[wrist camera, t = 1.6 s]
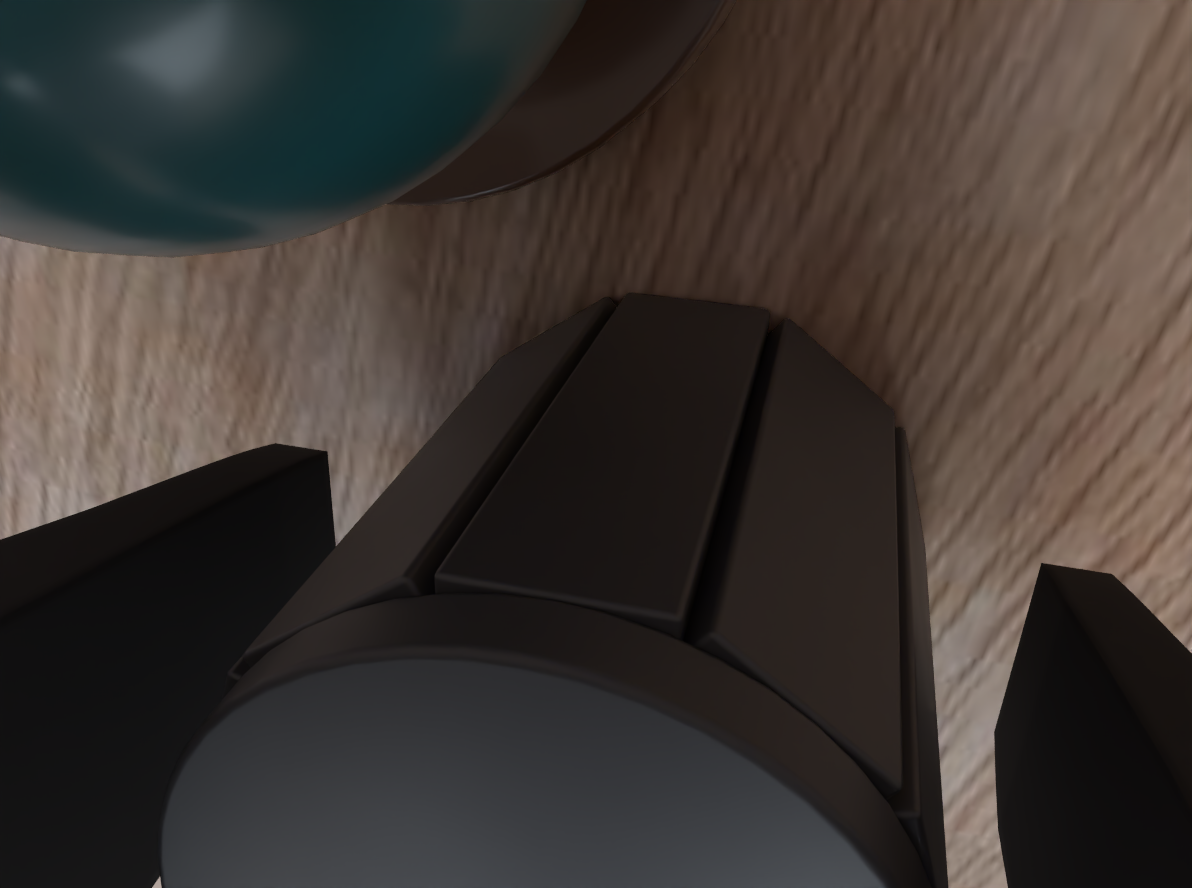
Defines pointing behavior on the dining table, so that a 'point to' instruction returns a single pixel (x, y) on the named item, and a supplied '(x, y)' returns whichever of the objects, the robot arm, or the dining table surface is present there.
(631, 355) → the black cap
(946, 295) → the dining table surface
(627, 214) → the dining table surface
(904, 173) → the dining table surface
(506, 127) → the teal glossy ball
